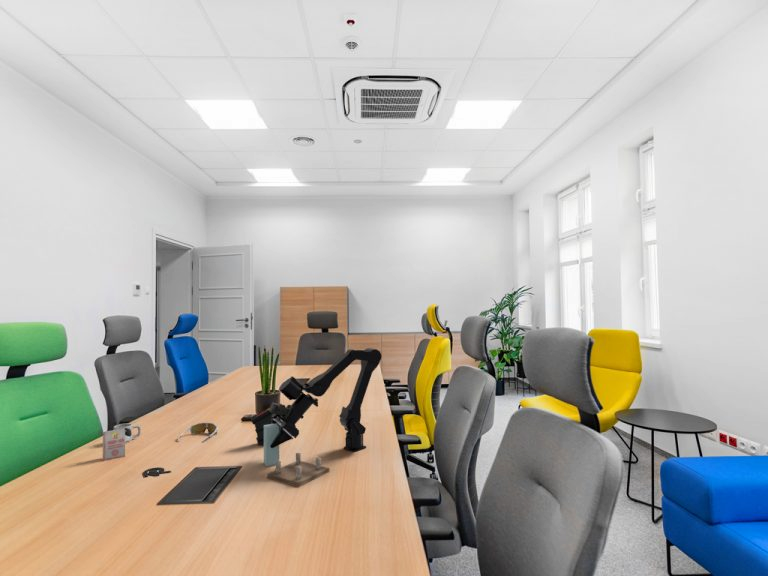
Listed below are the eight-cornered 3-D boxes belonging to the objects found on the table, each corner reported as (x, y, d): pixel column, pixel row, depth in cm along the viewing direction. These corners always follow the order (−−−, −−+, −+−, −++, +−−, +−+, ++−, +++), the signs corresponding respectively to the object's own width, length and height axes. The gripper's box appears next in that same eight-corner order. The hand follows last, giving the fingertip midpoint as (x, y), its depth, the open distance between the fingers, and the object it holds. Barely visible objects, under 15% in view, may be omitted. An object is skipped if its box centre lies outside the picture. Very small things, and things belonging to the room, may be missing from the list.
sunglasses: (223, 432, 189) (222, 422, 188) (206, 448, 174) (205, 437, 173) (193, 432, 190) (192, 421, 189) (173, 448, 175) (172, 436, 175)
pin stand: (298, 463, 148) (298, 450, 149) (328, 471, 141) (328, 457, 141) (267, 477, 137) (267, 462, 137) (299, 486, 129) (299, 471, 129)
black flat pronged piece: (175, 471, 144) (175, 469, 144) (156, 480, 137) (156, 478, 137) (154, 468, 147) (154, 466, 147) (134, 476, 140) (134, 474, 140)
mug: (114, 445, 173) (115, 428, 173) (112, 441, 178) (112, 425, 178) (142, 439, 179) (142, 424, 180) (139, 436, 184) (139, 421, 185)
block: (276, 460, 153) (276, 423, 153) (279, 464, 149) (279, 426, 149) (263, 462, 150) (263, 425, 151) (266, 466, 147) (266, 428, 147)
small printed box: (102, 458, 158) (103, 430, 158) (123, 454, 162) (124, 427, 162) (103, 460, 155) (103, 433, 155) (125, 456, 159) (125, 429, 159)
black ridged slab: (293, 436, 175) (277, 404, 173) (263, 455, 170) (246, 422, 168) (291, 434, 178) (275, 403, 176) (262, 452, 173) (245, 420, 171)
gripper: (276, 389, 161) (246, 423, 155) (289, 398, 144) (256, 436, 139) (297, 408, 164) (268, 441, 158) (312, 419, 148) (280, 457, 142)
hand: (267, 443), depth 149 cm, fingers open, 9 cm apart
